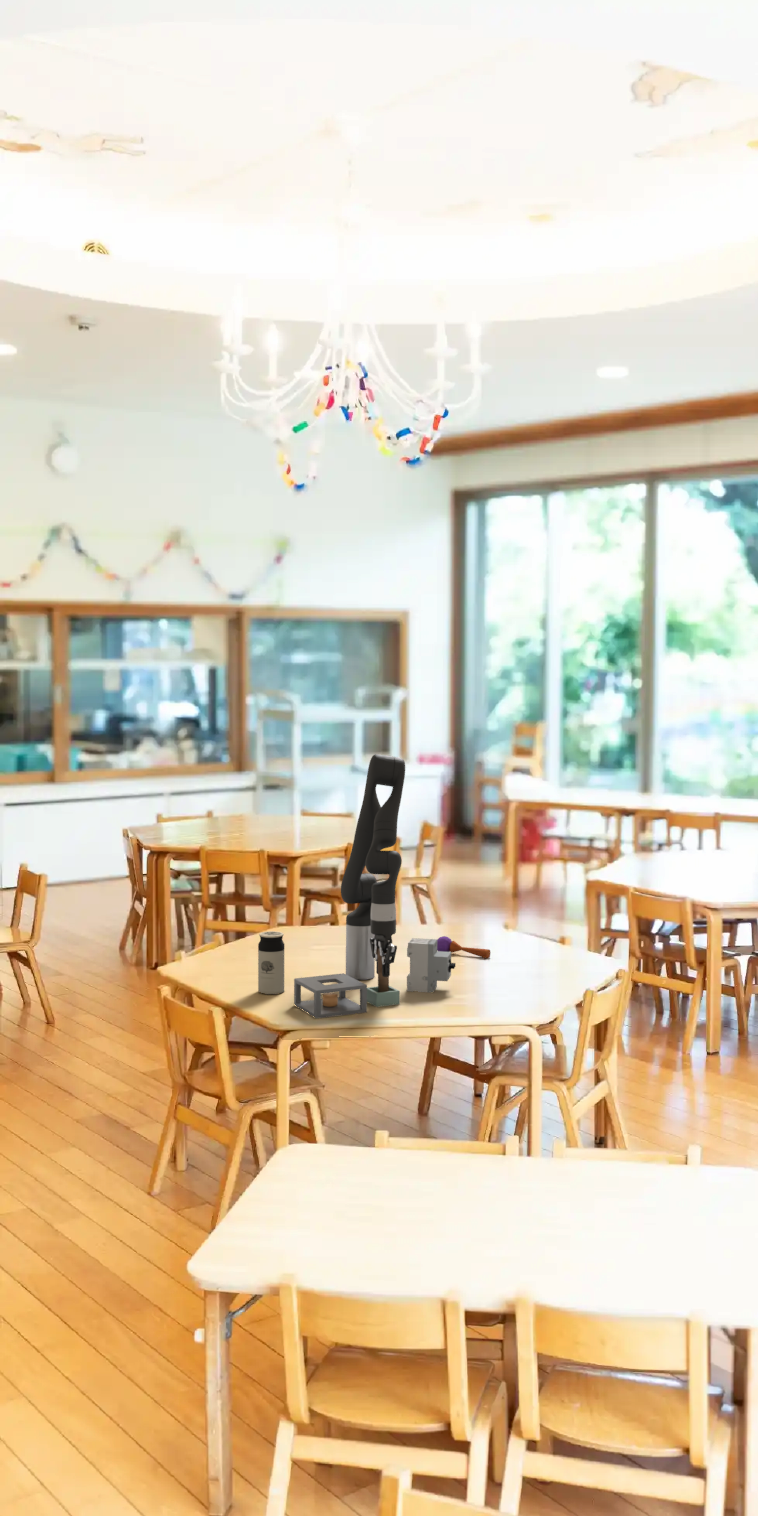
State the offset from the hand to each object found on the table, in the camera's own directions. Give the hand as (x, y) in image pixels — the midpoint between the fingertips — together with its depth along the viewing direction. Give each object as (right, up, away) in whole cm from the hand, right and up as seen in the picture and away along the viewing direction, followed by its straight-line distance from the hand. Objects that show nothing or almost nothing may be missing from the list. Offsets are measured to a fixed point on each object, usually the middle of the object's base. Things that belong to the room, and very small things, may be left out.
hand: (383, 974), depth 403 cm
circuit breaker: (+15, -7, +17) cm, 24 cm away
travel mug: (-34, -7, +13) cm, 37 cm away
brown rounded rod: (0, -6, 0) cm, 6 cm away
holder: (0, -8, +1) cm, 8 cm away
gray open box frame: (-15, -9, -7) cm, 19 cm away
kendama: (+28, -4, +66) cm, 72 cm away
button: (-15, -8, -7) cm, 19 cm away
